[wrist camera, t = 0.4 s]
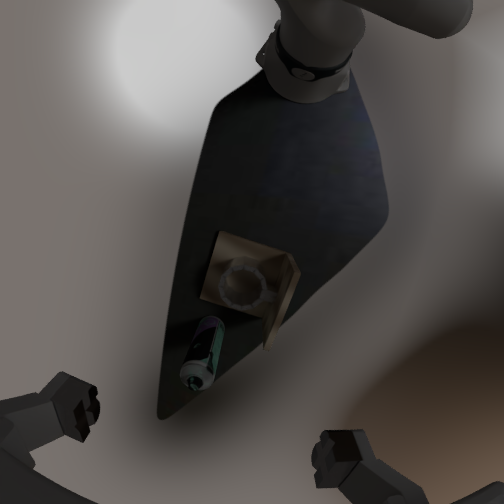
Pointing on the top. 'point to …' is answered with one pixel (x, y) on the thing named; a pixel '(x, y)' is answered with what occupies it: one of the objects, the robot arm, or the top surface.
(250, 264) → the ring
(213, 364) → the spray can
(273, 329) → the brown l-shaped piece
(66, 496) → the robot arm
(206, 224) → the top surface
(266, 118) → the top surface
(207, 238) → the top surface
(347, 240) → the top surface
